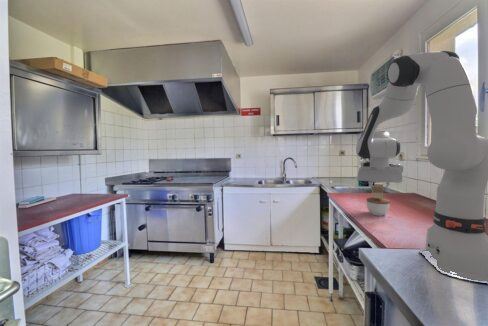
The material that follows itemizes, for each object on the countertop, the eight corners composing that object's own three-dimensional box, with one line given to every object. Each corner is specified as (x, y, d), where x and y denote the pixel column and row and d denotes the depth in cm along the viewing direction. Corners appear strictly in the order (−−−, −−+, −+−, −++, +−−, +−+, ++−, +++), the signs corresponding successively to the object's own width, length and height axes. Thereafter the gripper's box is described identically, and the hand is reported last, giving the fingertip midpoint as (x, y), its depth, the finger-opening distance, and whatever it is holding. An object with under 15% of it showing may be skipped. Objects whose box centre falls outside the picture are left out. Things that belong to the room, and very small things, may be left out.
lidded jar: (392, 217, 121) (393, 199, 120) (369, 216, 123) (370, 198, 122) (385, 212, 131) (385, 194, 130) (363, 210, 133) (364, 194, 133)
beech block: (382, 198, 120) (382, 186, 120) (373, 197, 122) (373, 185, 122) (382, 194, 130) (383, 183, 130) (374, 193, 132) (374, 182, 132)
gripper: (402, 163, 123) (401, 190, 124) (358, 162, 132) (357, 187, 133) (404, 164, 118) (403, 193, 119) (357, 163, 127) (356, 189, 128)
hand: (378, 190), depth 126 cm, fingers open, 4 cm apart
